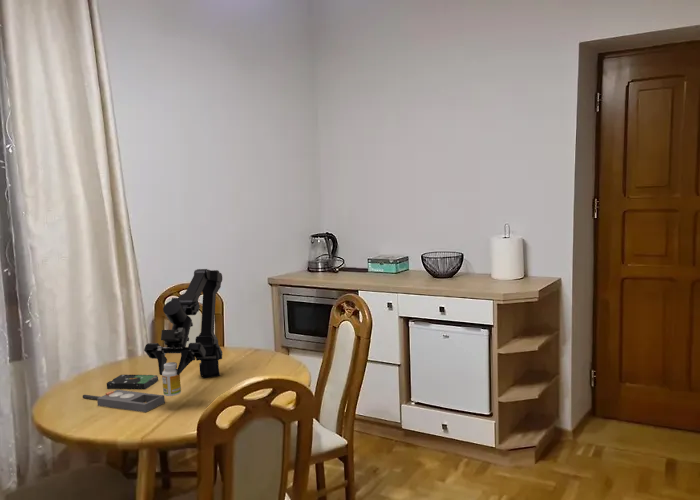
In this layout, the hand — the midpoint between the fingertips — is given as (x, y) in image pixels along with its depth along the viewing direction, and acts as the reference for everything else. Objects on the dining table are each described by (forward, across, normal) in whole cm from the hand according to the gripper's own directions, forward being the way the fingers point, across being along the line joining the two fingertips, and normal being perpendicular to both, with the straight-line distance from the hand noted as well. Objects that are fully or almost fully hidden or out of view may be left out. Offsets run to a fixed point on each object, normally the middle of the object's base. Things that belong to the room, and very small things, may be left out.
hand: (169, 374), depth 199 cm
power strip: (+4, -21, +12) cm, 25 cm away
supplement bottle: (+4, 0, +6) cm, 7 cm away
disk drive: (-9, -25, +26) cm, 37 cm away
